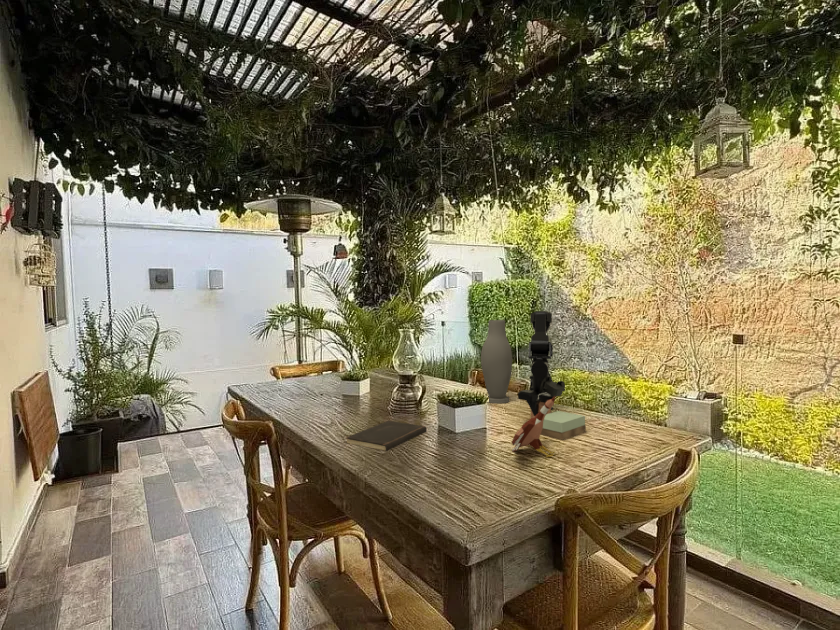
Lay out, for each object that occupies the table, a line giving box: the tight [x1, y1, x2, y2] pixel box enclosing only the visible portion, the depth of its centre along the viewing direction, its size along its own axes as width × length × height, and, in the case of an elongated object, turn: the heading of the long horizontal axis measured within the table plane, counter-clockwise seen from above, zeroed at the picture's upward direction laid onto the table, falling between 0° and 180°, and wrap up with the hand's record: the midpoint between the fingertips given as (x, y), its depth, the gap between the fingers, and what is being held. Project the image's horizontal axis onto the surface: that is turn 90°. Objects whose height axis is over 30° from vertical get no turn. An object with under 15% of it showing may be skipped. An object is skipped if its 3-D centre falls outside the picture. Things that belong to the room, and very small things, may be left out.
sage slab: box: [543, 410, 586, 433], centre depth 153 cm, size 13×10×3 cm
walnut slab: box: [540, 424, 587, 441], centre depth 153 cm, size 13×10×3 cm
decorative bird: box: [511, 396, 558, 458], centre depth 133 cm, size 28×18×15 cm, turn 151°
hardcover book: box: [345, 420, 428, 452], centre depth 153 cm, size 16×23×2 cm
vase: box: [480, 319, 513, 404], centre depth 201 cm, size 13×13×35 cm
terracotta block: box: [530, 402, 552, 419], centre depth 169 cm, size 5×5×6 cm
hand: (540, 416), depth 169 cm, fingers closed on terracotta block, 5 cm apart
